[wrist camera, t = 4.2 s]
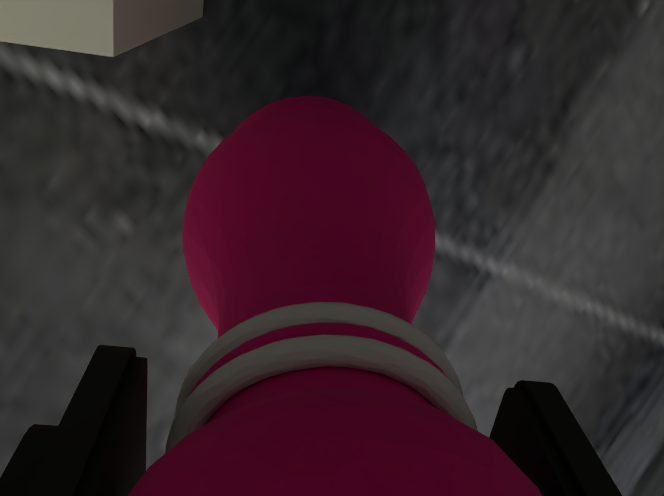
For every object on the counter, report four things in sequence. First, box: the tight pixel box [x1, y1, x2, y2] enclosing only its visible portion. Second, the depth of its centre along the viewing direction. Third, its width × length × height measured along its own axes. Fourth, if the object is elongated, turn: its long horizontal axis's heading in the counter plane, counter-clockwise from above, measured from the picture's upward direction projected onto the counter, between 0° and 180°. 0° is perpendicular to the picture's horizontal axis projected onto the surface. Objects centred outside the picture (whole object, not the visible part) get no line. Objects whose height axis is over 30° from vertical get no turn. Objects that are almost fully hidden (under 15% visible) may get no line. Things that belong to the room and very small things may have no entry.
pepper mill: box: [128, 96, 542, 496], centre depth 13 cm, size 7×7×20 cm
